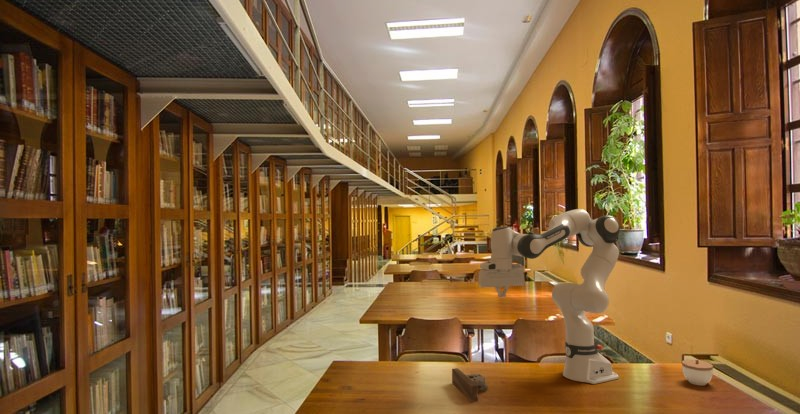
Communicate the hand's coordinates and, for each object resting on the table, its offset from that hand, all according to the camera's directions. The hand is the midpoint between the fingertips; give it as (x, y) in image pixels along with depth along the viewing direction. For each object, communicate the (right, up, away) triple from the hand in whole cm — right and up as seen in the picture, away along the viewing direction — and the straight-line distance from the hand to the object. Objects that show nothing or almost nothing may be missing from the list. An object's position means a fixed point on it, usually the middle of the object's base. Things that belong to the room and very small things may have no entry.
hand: (501, 296), depth 198 cm
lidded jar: (+78, -34, -9) cm, 85 cm away
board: (-18, -34, -16) cm, 42 cm away
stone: (-14, -35, -12) cm, 39 cm away
